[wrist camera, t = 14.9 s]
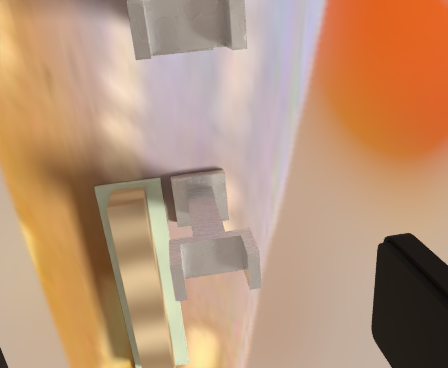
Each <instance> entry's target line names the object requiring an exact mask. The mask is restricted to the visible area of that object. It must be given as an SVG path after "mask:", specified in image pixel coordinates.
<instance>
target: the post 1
mask: <svg viewBox="0 0 448 368" xmlns="http://www.w3.org/2000/svg"><path fill="white" fill-rule="evenodd" d="M126 3H127V9H128V15H129V21H130V27H131V33H132V39H133V45H134V51H135V57H136V60H141V59H151V56H155V55H165V54H175V53H184V52H194V51H204V50H213V48H217V47H228V48H230V49H232V50H238V49H247V37H246V20H245V3H244V0H126Z"/></svg>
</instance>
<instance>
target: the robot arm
mask: <svg viewBox="0 0 448 368" xmlns="http://www.w3.org/2000/svg"><path fill="white" fill-rule="evenodd" d="M372 334H373V338H374V340H375V342H376V344H377V345H378V347H379V348H380V350H381V352H382V353H383V355H384V356H385V358H386V359H387V361H388V362H389V364H390V365H391V367H392V368H448V265H447V264H445V263H444V262H443V261H442V260H441V259H440V258H439V257H438V256H436V255H435V254H434V253H433V252H432V251H431V250H429V248H427V247H426V246H425V245H424V244H423V243H422V242H421V241H420V240H418V239H417V238H416V237H415V236H414V235H412V234H411V233H406V234H399V235H393V236H387V237H385V239H384V242H383V243H380V244H379V245H378V250H377V262H376V275H375V288H374V301H373V314H372ZM0 368H8V366H7V363H6V361H5V358H4V356H3V353H2V351H1V348H0Z"/></svg>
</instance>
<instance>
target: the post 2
mask: <svg viewBox="0 0 448 368" xmlns="http://www.w3.org/2000/svg"><path fill="white" fill-rule="evenodd" d="M171 184H172V190H173V197H174V204H175V211H176V217H177V224H178V227H184V226H192V233H193V237H187V238H180V239H173V240H169V261H170V270H171V276H172V282H173V289H174V295H175V301H182V300H187V291H186V280H185V279H188V278H194V277H200V276H207V275H213V274H220V273H226V272H232V271H239V270H244V272H245V275H246V278H247V282H248V285H249V288H250V290H251V289H257V288H261V274H260V257H259V250H258V247H257V245H256V243H255V240H254V238H253V235H252V233H251V230H250V228H248V229H241V230H235V231H228V232H225V230H224V227H223V223H222V221H226V220H229V216H228V205H227V194H226V183H225V173H224V170H223V169H220V170H213V171H205V172H198V173H190V174H182V175H175V176H171Z"/></svg>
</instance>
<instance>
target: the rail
mask: <svg viewBox="0 0 448 368" xmlns="http://www.w3.org/2000/svg"><path fill="white" fill-rule="evenodd" d="M107 213H108V218H109V222H110V227H111V231H112V236H113V240H114V245H115V249H116V254H117V258H118V263H119V267H120V272H121V276H122V281H123V285H124V290H125V294H126V299H127V303H128V308H129V312H130V317H131V321H132V326H133V330H134V335H135V339H136V344H137V348H138V353H139V357H140V362H141V366H142V368H176V361H175V355H174V350H173V344H172V338H171V333H170V327H169V321H168V315H167V310H166V304H165V298H164V293H163V287H162V281H161V276H160V270H159V264H158V259H157V253H156V247H155V242H154V236H153V230H152V224H151V219H150V213H149V207H148V202H147V196H146V190H145V186H141V187H134V188H126V189H119V190H112V192H111V196H110V199H109V203H108V207H107Z"/></svg>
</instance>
